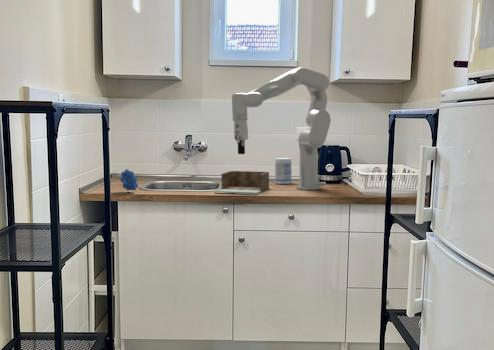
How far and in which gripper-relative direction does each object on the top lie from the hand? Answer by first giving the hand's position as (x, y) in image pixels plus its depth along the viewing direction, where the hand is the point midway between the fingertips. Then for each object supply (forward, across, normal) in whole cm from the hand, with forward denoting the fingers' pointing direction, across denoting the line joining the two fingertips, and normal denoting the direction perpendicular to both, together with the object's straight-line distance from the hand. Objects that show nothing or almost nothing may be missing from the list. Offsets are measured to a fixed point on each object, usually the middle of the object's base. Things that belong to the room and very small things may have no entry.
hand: (241, 153), depth 240 cm
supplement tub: (+21, +39, -13) cm, 46 cm away
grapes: (+18, -15, +58) cm, 63 cm away
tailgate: (+20, +1, +2) cm, 20 cm away
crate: (+20, +9, +1) cm, 22 cm away
